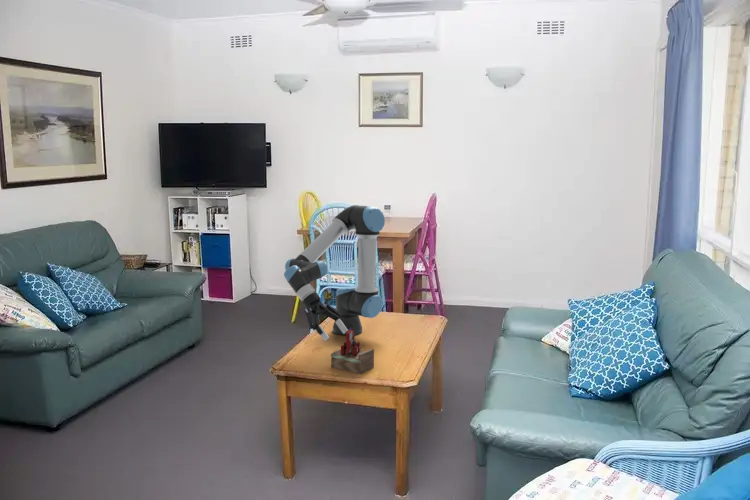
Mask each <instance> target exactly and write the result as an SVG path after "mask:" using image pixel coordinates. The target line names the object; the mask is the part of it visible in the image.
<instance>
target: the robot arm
mask: <svg viewBox="0 0 750 500" xmlns="http://www.w3.org/2000/svg"><path fill="white" fill-rule="evenodd" d="M385 223H386V220H385V215H384V212H383V211H381V209H380V208H378V207H376V206H371V205H358V204H354V205H350V206H347V207H346V208H344V209H343V210H342V211H340V212H339V213H338V214H336V216H334V217H333V218H332V219H331V223H330V224H329V225H328V226H327V227H326V228H325V229H324V230H323V231H322V232H321V233H320V234H319V235H318V236H317V237H316V238H315V239H314V240H313V241H312V242H311V243H310V244H309V245H308V246H307V247H305V249H304V250H303V251H301V252H300V254H299V255H297V256H296V257H295V258H289V259H288V260H286V263H285V265H284V269H285V271H284V274H283V276H284V278H285V280H286V282H287V284H289V286H290V287H291V289H292V290H293V291H294V292H295V294H296V296H298V298H299V300H300V301H301V302H302V305H304V307H305V309H304V313H305V315H306V318H307V323H308V325H309V329H310V330H312V331H316V332H317V334H318V335H319V336H320V337H321V338H322V340H323V341H324V342H327V341H328V340H329V339H330V336H329V335H328V333H327V332H326V331H325V329H324V328H323V326H322V325H321V324H320V320H319V319H320V318H319V317H320V316H321V315H324V316H326V317H329V318H330V319H331V320H332V321H333V320H334V323H333V325H332V333H334V334H336V335H338V336H339V335H341V336H346V333H347V332H348V330H349V328H353V329H354V335H355V336H356V335H359V334H361V333H363V325H362V321H361V318H360V316H361V317H363V318H369V319H373V318H375V317H377V316H378V315H379V314H380V313H381V311H382V309H383V305H384V300H383V298H382V297H381V295H379V289H378V288H377V287H376V275H377V274H376V266H377V259H376V258H377V238H378V237H379V235H380V231H382V230H383V229H384V226H385ZM352 230H355V235H356V237H357V238H358V242H357V243H358V245H357V247H358V249H357V250H358V251H357V252H358V255H357V256H358V257H357V259H358V260H357V286H356V285H355V286H353V285H352V286H351V285H350V286H341V287H339V288H337V289H336V295H335V307H336V308H334V307H332V305H330V304H329V303H328V301H327V300H325V301H324V302H322V301H321V297H320V295H319V294H318V292H316V289H315V288H314V287H313V286H312V284H311V283H312V282H314V281H316V280H320V279H321V278H323V277H325V276H326V275H327V273H328V266H327V265H326V263H325V261H323V260H318V259H319V258H320V257H321V256H322V255H323V254H324V253H325V252H326V251H327V250H329V248H330V247H332V245H333V244H335V243H336V242H337V240H339V239H340V238H341V236H343V235H345V234H347V233H349V232H350V231H352Z"/></svg>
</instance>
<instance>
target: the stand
mask: <svg viewBox="0 0 750 500" xmlns="http://www.w3.org/2000/svg"><path fill="white" fill-rule="evenodd" d="M330 359H331V360H330V361H331V363H330V366H331V368H335V369H338V370H342V371H346V372H350V373H354V374H359V375H362V374H363V373H365V372H368V371H369V370H372V369H373V368H375V349H374V348H371V349H368V350H366V351H363V350H360V352H358V355H357V356H354V355H353V352H351V353H346V352H345V355H341V349H339V350H336V351H333V352H331V353H330Z"/></svg>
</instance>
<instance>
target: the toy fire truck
mask: <svg viewBox="0 0 750 500" xmlns="http://www.w3.org/2000/svg"><path fill="white" fill-rule="evenodd" d="M355 336H356V335H354V329H353V328H349V330H348V332H347V333H346V335H345V341H344V342H343V344H342V345H341V346H340V350H341V355H345V352H346V353H351V352H353V355H354V356H357V355H358V352H360V351H361V349H362V348H361V344H362V343H361V342H359V341H356V337H355Z"/></svg>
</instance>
